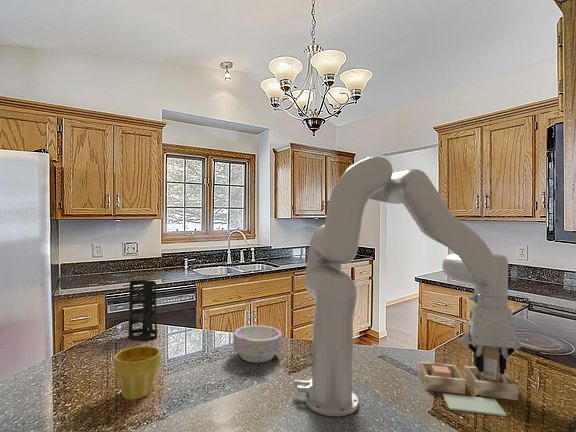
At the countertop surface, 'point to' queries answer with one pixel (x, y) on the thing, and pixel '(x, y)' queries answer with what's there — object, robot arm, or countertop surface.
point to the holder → (143, 310)
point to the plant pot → (136, 370)
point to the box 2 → (491, 385)
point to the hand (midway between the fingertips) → (489, 370)
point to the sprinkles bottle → (490, 364)
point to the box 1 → (442, 379)
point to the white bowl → (257, 342)
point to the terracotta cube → (440, 371)
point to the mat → (473, 404)
